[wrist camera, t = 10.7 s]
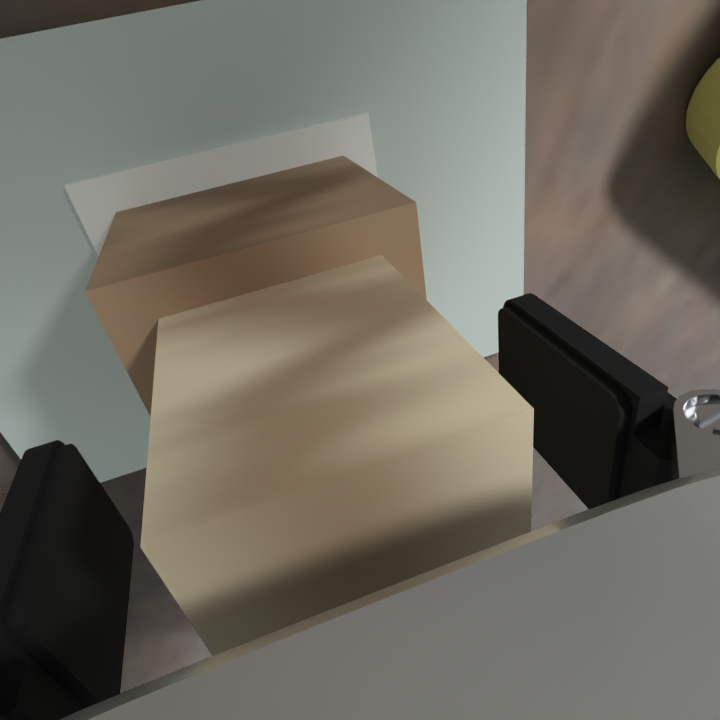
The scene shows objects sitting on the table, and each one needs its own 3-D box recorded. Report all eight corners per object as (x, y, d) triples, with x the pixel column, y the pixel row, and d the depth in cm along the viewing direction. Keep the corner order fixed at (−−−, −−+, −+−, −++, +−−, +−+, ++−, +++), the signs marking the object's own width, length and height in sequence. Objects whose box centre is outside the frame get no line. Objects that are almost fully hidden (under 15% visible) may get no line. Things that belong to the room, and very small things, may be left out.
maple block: (381, 255, 11) (534, 408, 7) (408, 421, 14) (528, 617, 9) (158, 318, 11) (140, 547, 6) (232, 482, 13) (261, 729, 9)
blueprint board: (508, -57, 15) (531, -64, 14) (510, 334, 23) (525, 346, 22) (-231, 86, 12) (-267, 88, 11) (56, 480, 20) (49, 502, 19)
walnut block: (343, 155, 16) (416, 202, 11) (376, 342, 20) (441, 438, 15) (116, 212, 15) (84, 292, 10) (198, 397, 19) (204, 520, 14)
